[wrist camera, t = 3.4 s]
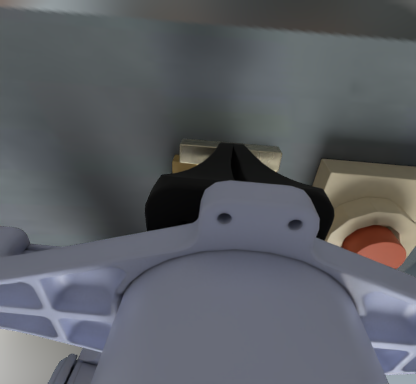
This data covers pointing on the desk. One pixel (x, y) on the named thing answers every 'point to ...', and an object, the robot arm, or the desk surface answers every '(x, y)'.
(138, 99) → the desk surface
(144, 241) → the robot arm
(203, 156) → the lever
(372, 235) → the button
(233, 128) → the desk surface
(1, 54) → the desk surface
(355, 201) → the control block
